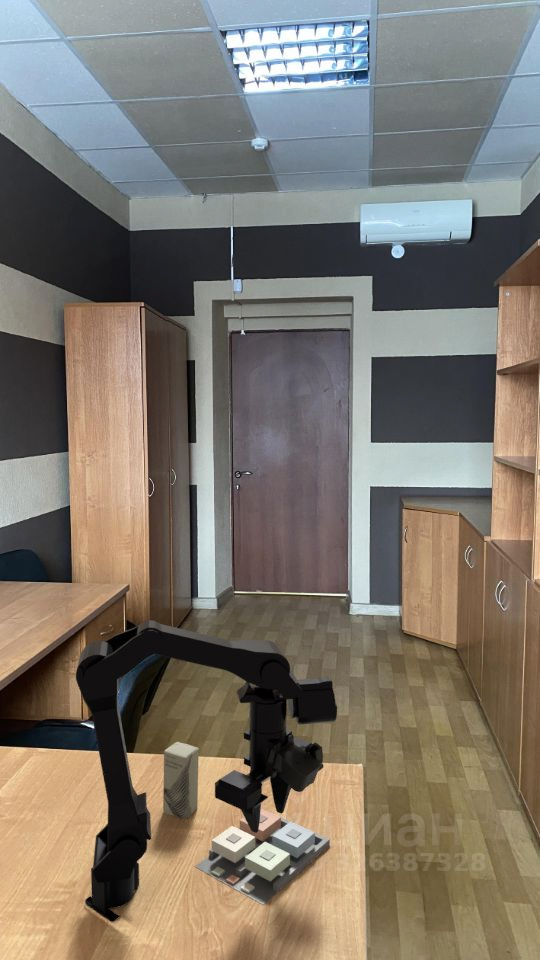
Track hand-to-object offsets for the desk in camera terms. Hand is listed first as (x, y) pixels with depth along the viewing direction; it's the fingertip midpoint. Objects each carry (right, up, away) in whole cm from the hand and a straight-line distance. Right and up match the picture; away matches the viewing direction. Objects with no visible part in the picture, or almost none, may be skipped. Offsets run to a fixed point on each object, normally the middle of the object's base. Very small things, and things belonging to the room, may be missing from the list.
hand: (267, 821), depth 108 cm
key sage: (0, -7, +1) cm, 7 cm away
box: (-16, -8, +19) cm, 26 cm away
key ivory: (-6, -7, +5) cm, 10 cm away
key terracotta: (-1, -6, +10) cm, 12 cm away
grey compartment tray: (-1, -10, +6) cm, 11 cm away
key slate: (+4, -7, +6) cm, 10 cm away
